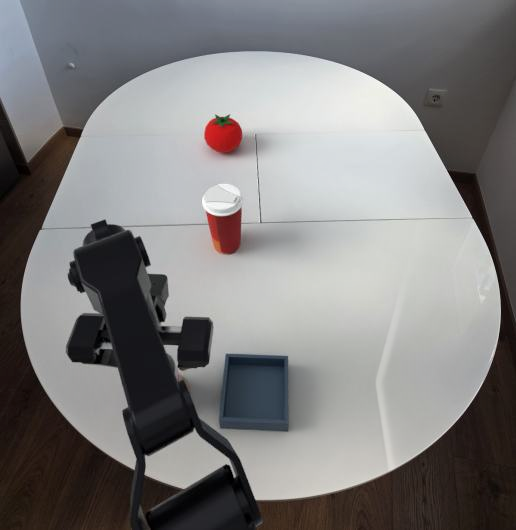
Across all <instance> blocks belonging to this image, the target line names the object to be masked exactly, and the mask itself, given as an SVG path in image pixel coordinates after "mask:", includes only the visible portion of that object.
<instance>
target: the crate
mask: <svg viewBox="0 0 516 530" xmlns="http://www.w3.org/2000/svg"><path fill="white" fill-rule="evenodd" d="M221 386H222V387H221V395H220V396H221V397H220V404H219V414H218V423H219V428H220V429H223V430H244V431H245V430H247V431H267V432H289V355H277V354H276V355H275V354H250V353H245V354H244V353H227V352H226V353H225V358H224V368H223V377H222V385H221Z"/></svg>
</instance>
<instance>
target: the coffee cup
mask: <svg viewBox="0 0 516 530" xmlns="http://www.w3.org/2000/svg"><path fill="white" fill-rule="evenodd" d="M201 202H202V207H203V209H204V210H205V215H206V220H207V223H208V228H209V233H210V236H211V237H210V238H211V242H212V245H213V248H214V250H215V251H216V252H217V253H219V254H221V255H232V254H234V253H235V252H237V251H238V250H239V249H240V247H241V242H242V241H241V239H242V217H243V215H242V214H243V213H242V207H243V205H244V196H243V194H242V193H241V191H240V190H239V189H238V188H237V187H236V186H235V185H233V184H229V183H219V184H215V185H213V186H211V187H209V188H208V190H206V191H205V193H204V195H203V196H202V199H201Z"/></svg>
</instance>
